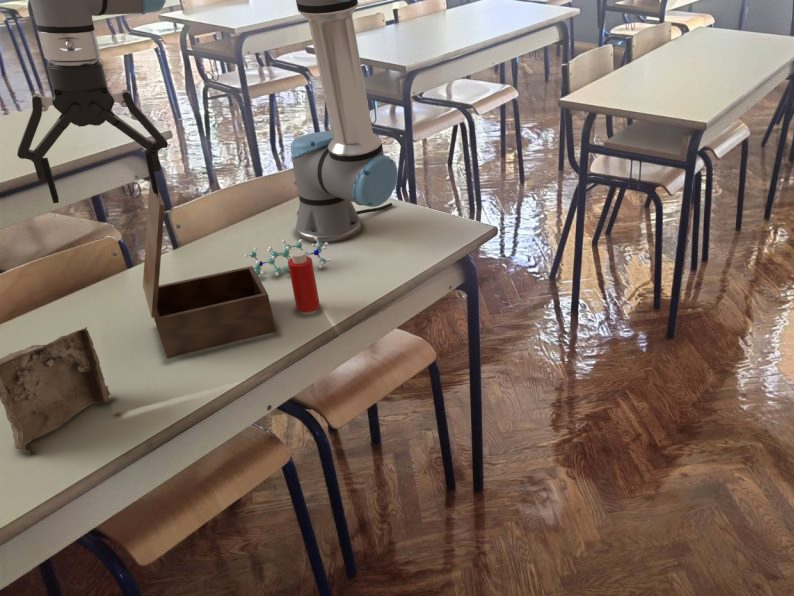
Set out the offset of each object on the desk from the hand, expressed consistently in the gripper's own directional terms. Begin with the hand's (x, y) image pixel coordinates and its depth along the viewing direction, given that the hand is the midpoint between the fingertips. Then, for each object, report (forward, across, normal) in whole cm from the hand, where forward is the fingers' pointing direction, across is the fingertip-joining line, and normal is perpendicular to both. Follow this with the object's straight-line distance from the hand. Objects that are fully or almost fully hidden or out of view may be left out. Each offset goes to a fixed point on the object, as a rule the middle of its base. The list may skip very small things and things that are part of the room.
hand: (107, 199), depth 125 cm
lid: (+10, +6, 0) cm, 11 cm away
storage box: (+28, +13, +1) cm, 31 cm away
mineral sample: (+31, -14, -17) cm, 38 cm away
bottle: (+27, +31, +1) cm, 41 cm away
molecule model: (+26, +32, +19) cm, 46 cm away
